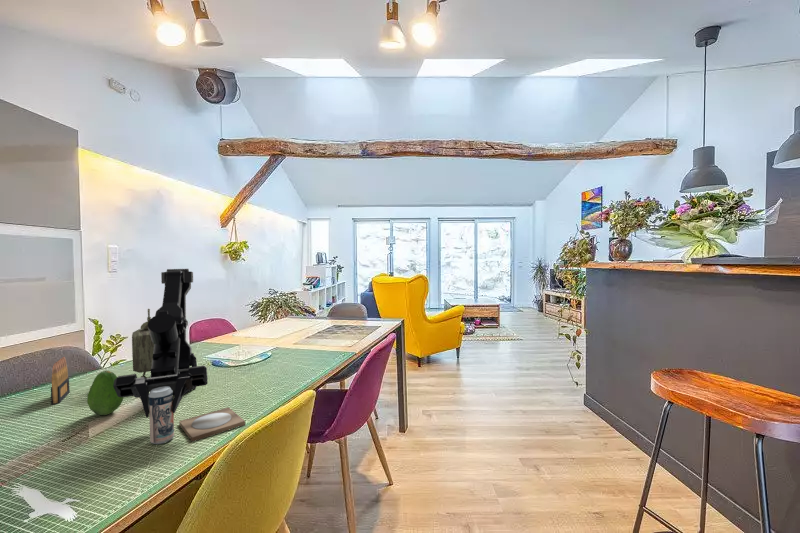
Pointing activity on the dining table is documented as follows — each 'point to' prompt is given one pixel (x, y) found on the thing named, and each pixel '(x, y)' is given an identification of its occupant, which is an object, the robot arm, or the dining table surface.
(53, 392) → the ammunition clip
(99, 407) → the avocado
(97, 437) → the dining table surface
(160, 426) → the beer can
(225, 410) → the plate
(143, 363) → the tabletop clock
